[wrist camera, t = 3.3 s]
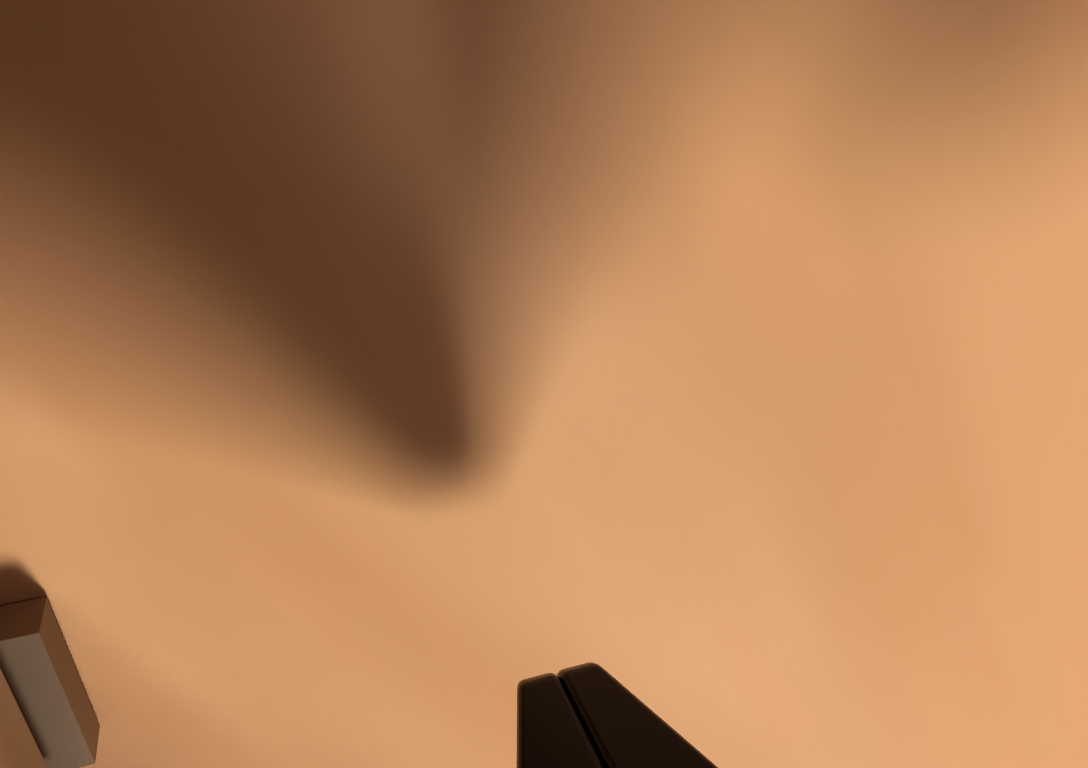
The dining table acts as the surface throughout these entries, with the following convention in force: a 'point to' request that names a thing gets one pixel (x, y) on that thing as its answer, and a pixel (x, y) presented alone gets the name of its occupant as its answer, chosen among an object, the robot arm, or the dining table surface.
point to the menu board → (15, 734)
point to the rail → (47, 684)
